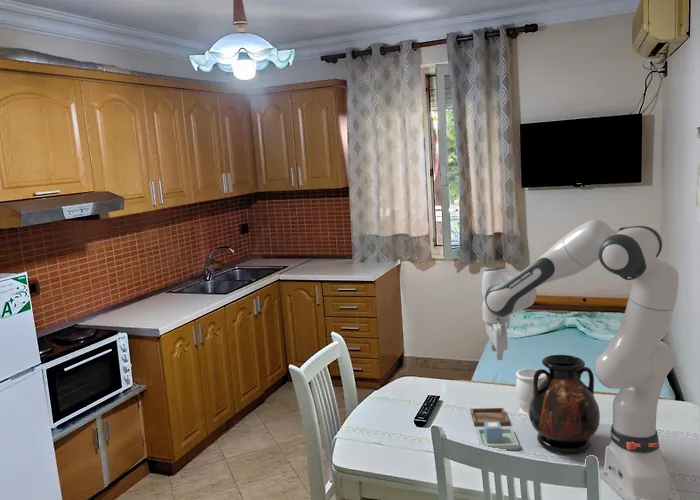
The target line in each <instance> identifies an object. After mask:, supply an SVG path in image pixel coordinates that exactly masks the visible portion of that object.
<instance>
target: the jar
mask: <svg viewBox="0 0 700 500" xmlns="http://www.w3.org/2000/svg"><path fill="white" fill-rule="evenodd" d="M537 370H538V369H537V368H523V369H518V370H517V371H516V373H515V377H516V382H515V392H516V393H515V394H516V396H517V397H516V398H517V402H518V405H519V413H520V414H522V415H525V416H528V417H529V404H530V400H531V397H532V394H533V378H534V374H535V372H536V371H537ZM545 379H546V374H541V375H539V378H538V385H539V384H540V383H541V382H542V381H544V380H545Z"/></svg>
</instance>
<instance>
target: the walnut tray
mask: <svg viewBox="0 0 700 500" xmlns="http://www.w3.org/2000/svg"><path fill="white" fill-rule="evenodd" d="M469 410H470V415H471V419H472V422H473V425H474V427H484V422H500V424H501V427H504V426H505V427H507V426H509V427H510V421H509V418H508V416H507V413H506V411H505V409H504V407H492V408H490V407H486V408H485V407H482V408H481V407H480V408H469Z"/></svg>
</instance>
